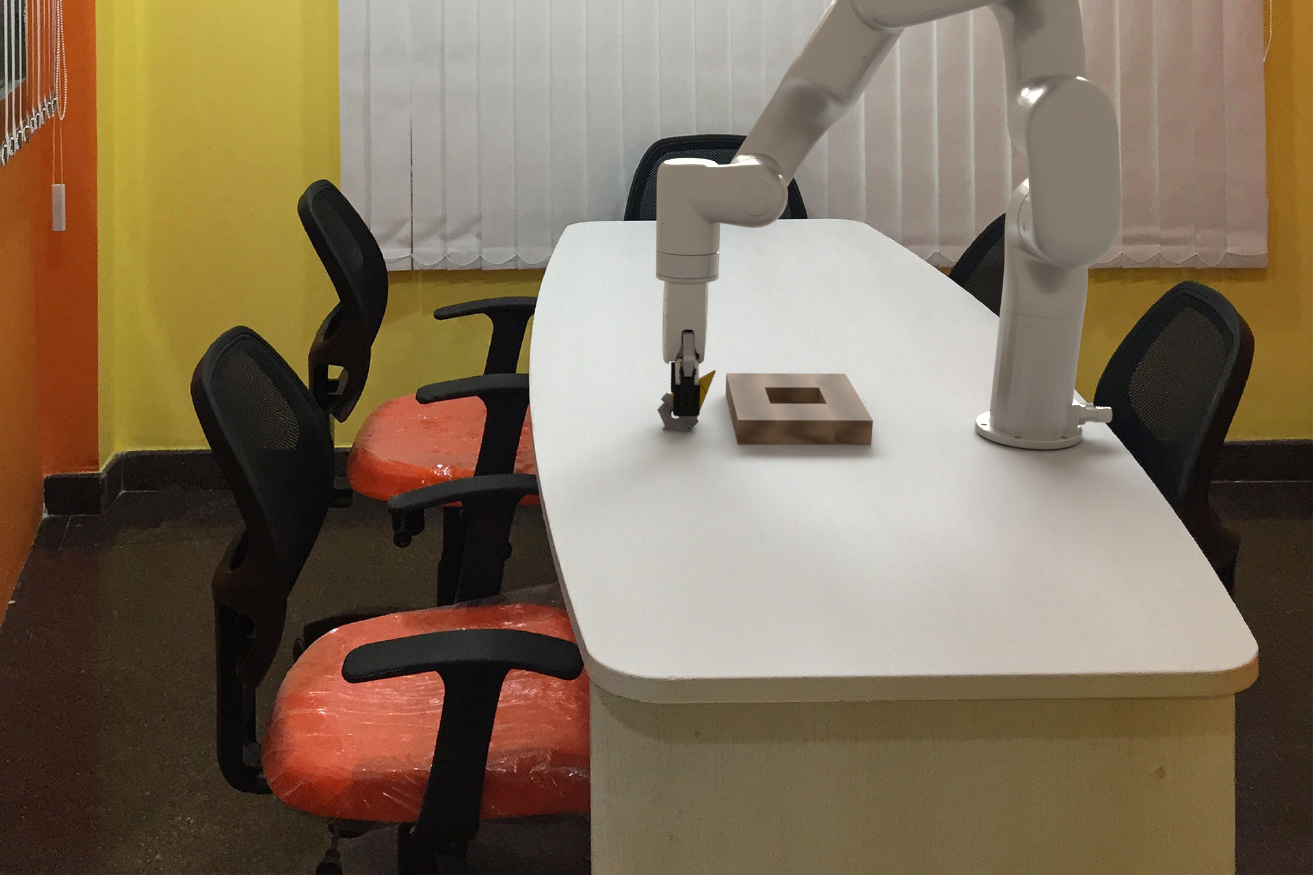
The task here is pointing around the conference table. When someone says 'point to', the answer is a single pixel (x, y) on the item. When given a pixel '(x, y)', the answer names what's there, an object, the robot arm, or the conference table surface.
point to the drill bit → (683, 421)
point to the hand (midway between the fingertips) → (684, 403)
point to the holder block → (796, 409)
